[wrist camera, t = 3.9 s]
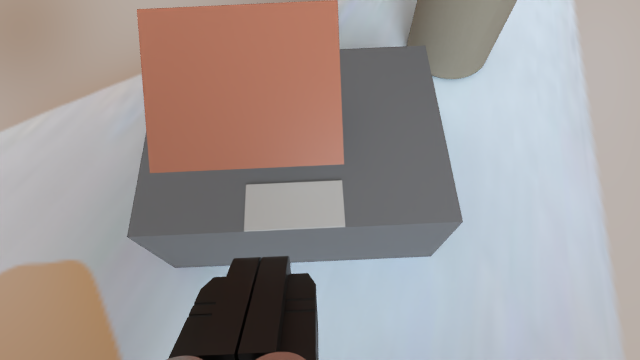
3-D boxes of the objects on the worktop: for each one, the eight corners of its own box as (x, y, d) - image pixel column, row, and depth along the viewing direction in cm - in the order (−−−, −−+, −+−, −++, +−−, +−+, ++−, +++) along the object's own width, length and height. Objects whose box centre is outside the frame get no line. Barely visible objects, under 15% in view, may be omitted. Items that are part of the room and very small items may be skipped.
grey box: (175, 267, 30) (105, 222, 21) (193, 118, 36) (145, 31, 27) (430, 256, 30) (477, 206, 21) (406, 109, 36) (433, 18, 27)
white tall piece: (259, 158, 25) (149, 172, 9) (255, 101, 24) (137, 9, 8) (327, 155, 25) (343, 164, 9) (325, 98, 24) (337, 0, 8)
